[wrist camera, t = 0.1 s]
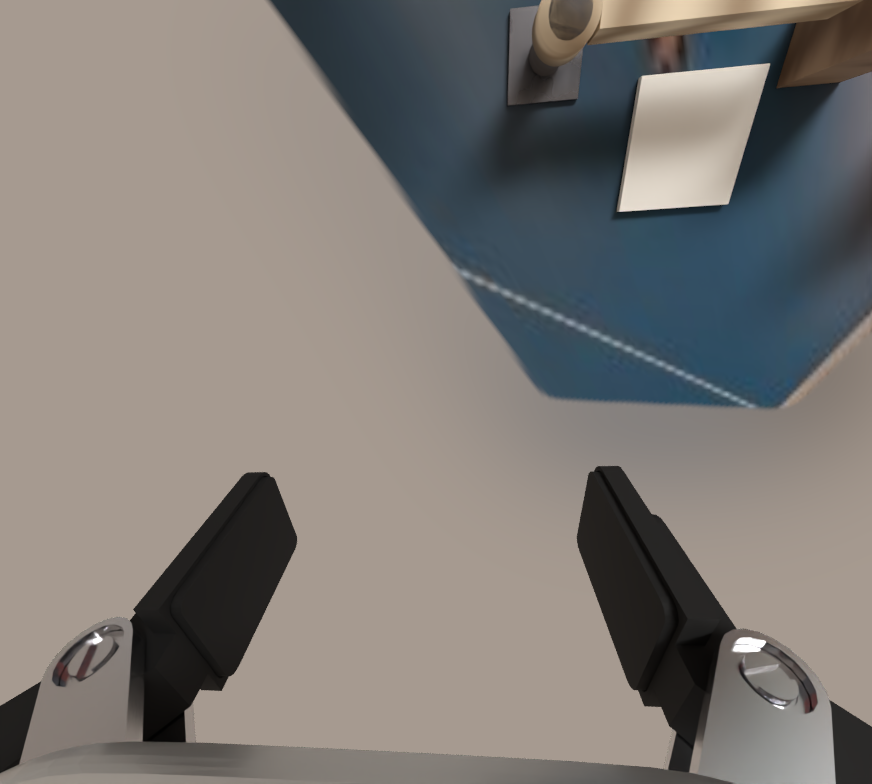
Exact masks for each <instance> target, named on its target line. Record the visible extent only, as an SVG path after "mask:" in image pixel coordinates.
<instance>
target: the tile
mask: <svg viewBox="0 0 872 784" xmlns="http://www.w3.org/2000/svg"><path fill="white" fill-rule="evenodd" d="M769 67H770V63H768V64H758V65H748V66H738V67H728V68H718V69H708V70H698V71H688V72H678V73H668V74H658V75H648V76H641V77H640V78H639V79H638V85H637V91H636V97H635V103H634V109H633V115H632V122H631V128H630V134H629V140H628V146H627V152H626V158H625V164H624V170H623V176H622V182H621V188H620V194H619V200H618V206H617V212H624V211H638V210H653V209H667V208H681V207H695V206H710V205H724V204H728V203H729V200H730V197H731V193H732V190H733V187H734V183H735V180H736V177H737V173H738V170H739V167H740V163H741V160H742V157H743V153H744V150H745V147H746V143H747V140H748V137H749V133H750V130H751V127H752V123H753V120H754V117H755V113H756V110H757V107H758V103H759V100H760V97H761V93H762V90H763V87H764V83H765V80H766V77H767V73H768V70H769Z"/></svg>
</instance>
